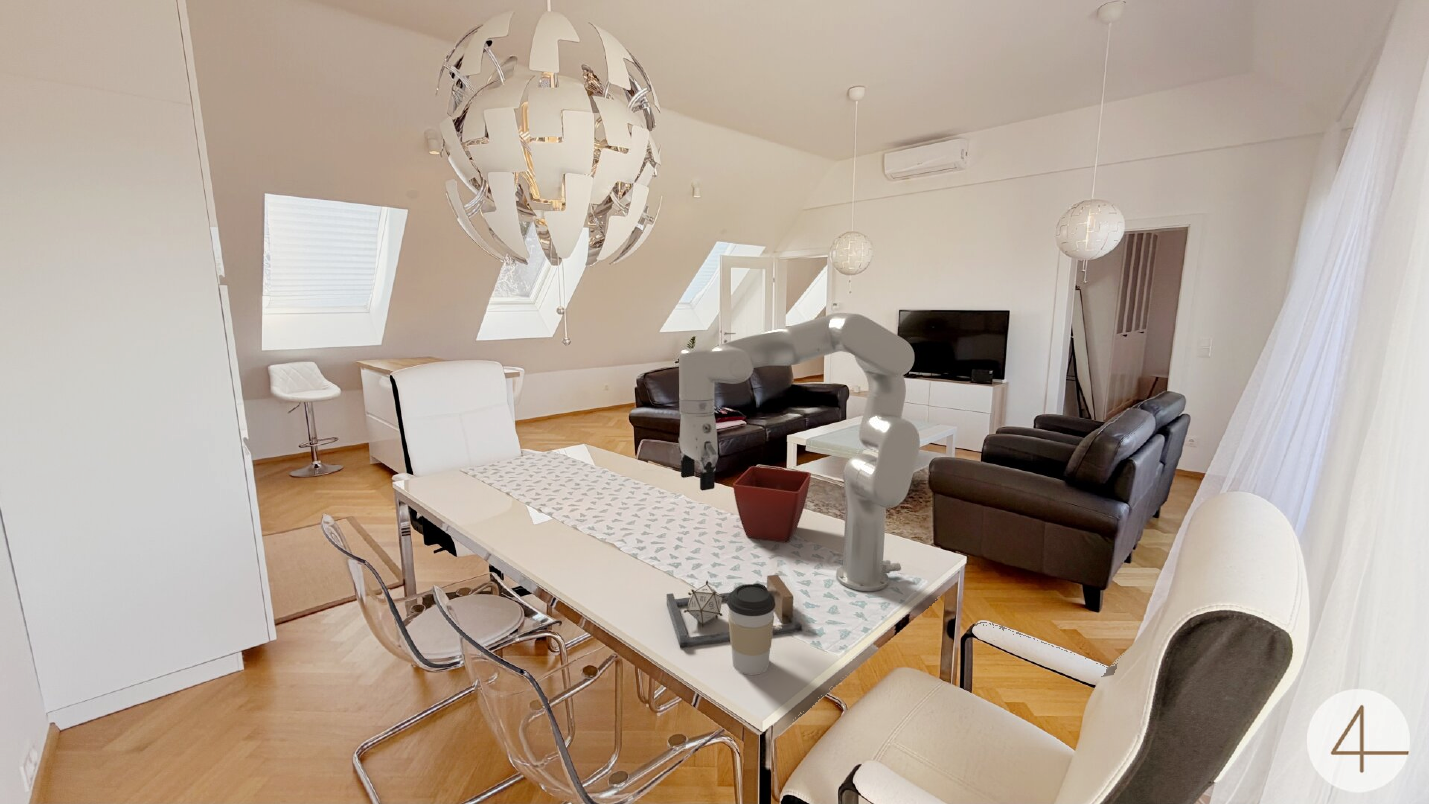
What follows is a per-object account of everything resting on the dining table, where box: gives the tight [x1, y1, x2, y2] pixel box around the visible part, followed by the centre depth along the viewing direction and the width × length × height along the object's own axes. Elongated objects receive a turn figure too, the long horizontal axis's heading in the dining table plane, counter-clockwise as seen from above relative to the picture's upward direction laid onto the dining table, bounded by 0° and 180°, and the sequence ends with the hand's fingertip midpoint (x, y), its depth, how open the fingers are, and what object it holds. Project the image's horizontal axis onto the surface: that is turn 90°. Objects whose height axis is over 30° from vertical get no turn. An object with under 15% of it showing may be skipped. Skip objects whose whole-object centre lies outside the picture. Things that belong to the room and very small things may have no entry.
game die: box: [683, 580, 726, 629], centre depth 124 cm, size 9×8×10 cm
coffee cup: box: [726, 582, 775, 676], centre depth 109 cm, size 9×9×15 cm
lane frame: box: [666, 574, 803, 648], centre depth 126 cm, size 26×17×6 cm, turn 104°
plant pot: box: [732, 465, 812, 543], centre depth 171 cm, size 19×19×17 cm
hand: (697, 482), depth 127 cm, fingers open, 9 cm apart
